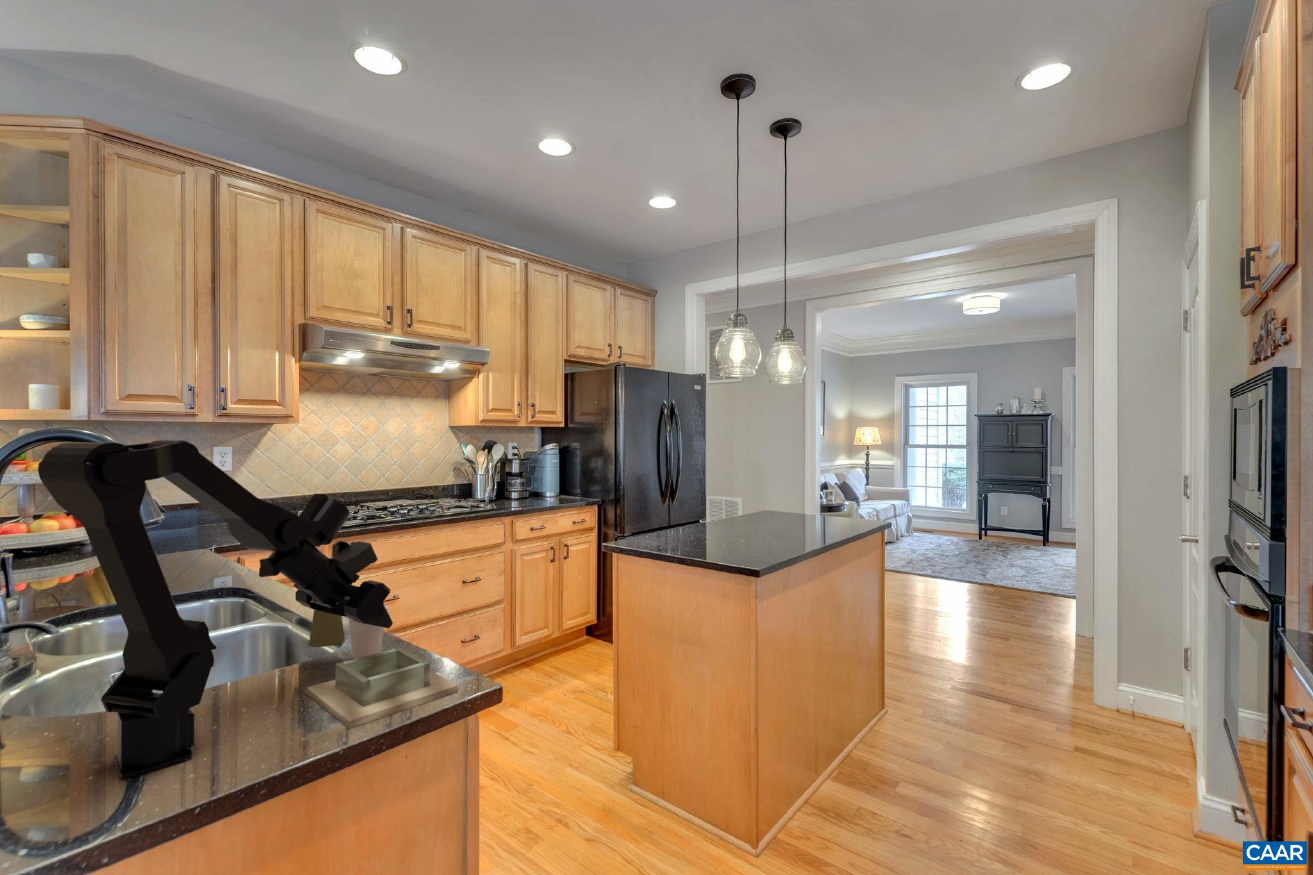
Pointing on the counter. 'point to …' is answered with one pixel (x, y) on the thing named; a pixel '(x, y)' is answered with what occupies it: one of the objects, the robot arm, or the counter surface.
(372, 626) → the smoothie
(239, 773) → the counter surface
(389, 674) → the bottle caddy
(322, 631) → the cork
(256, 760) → the counter surface
